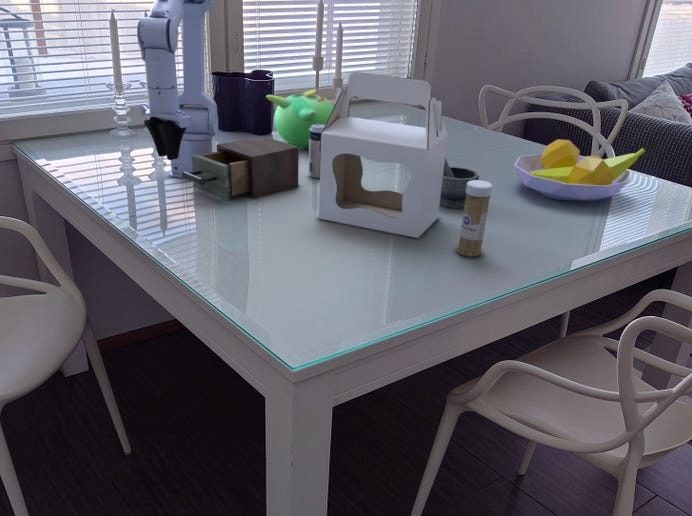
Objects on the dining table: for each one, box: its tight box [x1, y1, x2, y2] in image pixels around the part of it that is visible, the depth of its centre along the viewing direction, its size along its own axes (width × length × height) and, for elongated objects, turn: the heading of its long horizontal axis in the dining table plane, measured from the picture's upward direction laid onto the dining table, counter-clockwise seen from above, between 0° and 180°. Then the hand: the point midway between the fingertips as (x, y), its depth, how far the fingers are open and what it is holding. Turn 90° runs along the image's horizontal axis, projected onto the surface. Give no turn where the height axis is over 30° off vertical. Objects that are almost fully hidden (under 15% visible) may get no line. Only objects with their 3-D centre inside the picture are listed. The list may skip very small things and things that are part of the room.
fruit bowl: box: [514, 138, 646, 202], centre depth 163 cm, size 28×27×11 cm
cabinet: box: [215, 135, 300, 199], centre depth 159 cm, size 14×13×9 cm
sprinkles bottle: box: [456, 179, 493, 258], centre depth 128 cm, size 5×5×14 cm
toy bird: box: [265, 89, 339, 149], centre depth 188 cm, size 18×17×15 cm
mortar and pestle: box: [439, 157, 480, 209], centre depth 153 cm, size 11×9×12 cm
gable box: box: [318, 71, 449, 239], centre depth 138 cm, size 22×13×28 cm, turn 66°
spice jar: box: [308, 124, 325, 180], centre depth 166 cm, size 5×5×12 cm
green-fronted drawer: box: [182, 150, 251, 201], centre depth 152 cm, size 17×11×7 cm, turn 135°
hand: (168, 157), depth 141 cm, fingers open, 3 cm apart
